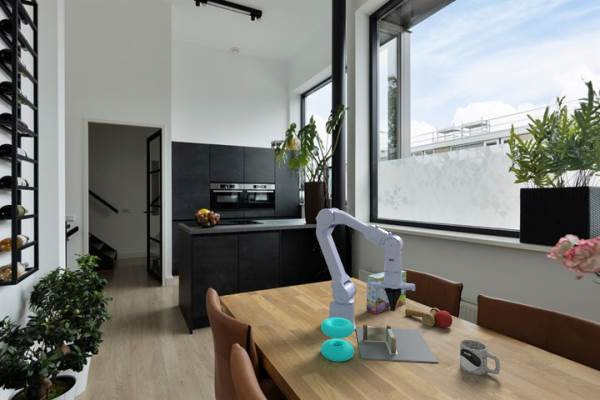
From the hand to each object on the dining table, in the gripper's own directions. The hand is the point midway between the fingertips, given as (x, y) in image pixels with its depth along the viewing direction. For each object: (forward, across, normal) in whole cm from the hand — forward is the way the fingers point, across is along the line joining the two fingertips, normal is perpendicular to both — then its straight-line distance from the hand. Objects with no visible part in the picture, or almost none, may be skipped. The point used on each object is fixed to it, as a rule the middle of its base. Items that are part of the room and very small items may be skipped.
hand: (392, 310), depth 110 cm
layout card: (+9, -1, -6) cm, 11 cm away
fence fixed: (+9, -6, -5) cm, 12 cm away
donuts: (+9, -19, -16) cm, 26 cm away
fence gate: (+8, -2, -11) cm, 13 cm away
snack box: (+9, +2, +28) cm, 29 cm away
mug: (+9, +20, -20) cm, 30 cm away
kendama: (+9, +16, +14) cm, 23 cm away
